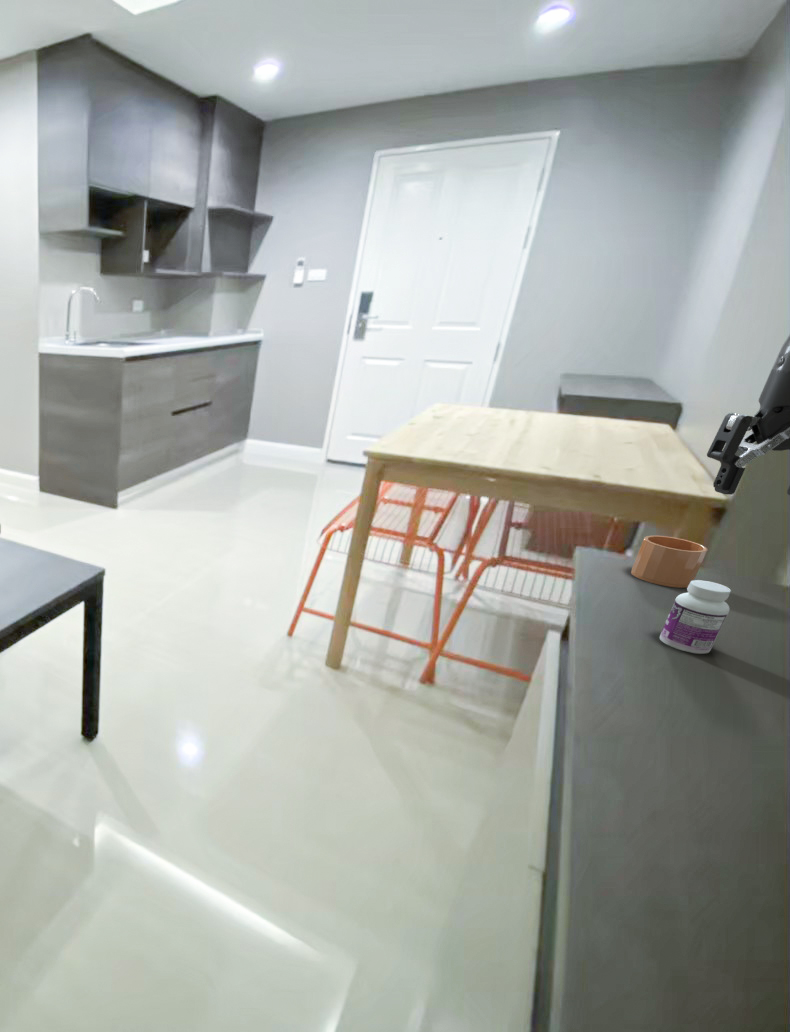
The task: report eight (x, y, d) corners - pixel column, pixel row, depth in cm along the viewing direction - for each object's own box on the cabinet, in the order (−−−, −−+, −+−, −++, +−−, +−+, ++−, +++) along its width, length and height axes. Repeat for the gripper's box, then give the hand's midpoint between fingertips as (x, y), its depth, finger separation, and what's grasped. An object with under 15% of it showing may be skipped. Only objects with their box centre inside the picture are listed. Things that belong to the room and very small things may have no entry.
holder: (679, 575, 111) (694, 539, 108) (699, 592, 104) (716, 554, 101) (623, 567, 114) (637, 532, 111) (639, 583, 107) (654, 547, 105)
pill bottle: (659, 632, 91) (685, 574, 87) (710, 646, 87) (738, 585, 84) (656, 645, 87) (682, 584, 84) (708, 659, 84) (738, 597, 80)
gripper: (780, 369, 72) (723, 500, 78) (922, 372, 70) (852, 505, 76) (725, 364, 79) (676, 485, 85) (853, 366, 77) (794, 489, 83)
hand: (759, 494), depth 80 cm, fingers open, 8 cm apart
